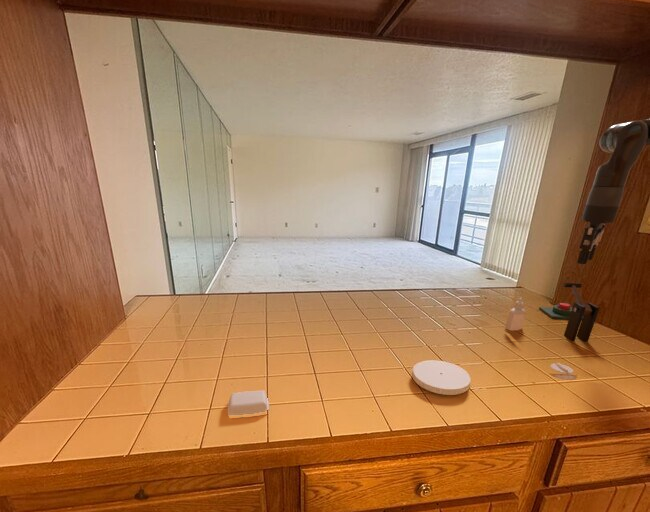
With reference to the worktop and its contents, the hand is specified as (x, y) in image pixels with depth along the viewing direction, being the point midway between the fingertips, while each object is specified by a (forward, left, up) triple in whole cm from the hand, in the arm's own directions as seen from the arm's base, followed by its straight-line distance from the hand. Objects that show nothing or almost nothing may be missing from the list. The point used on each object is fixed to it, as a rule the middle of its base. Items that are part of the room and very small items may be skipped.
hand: (584, 261), depth 103 cm
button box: (-11, -21, -26) cm, 35 cm away
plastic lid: (+45, +31, -26) cm, 60 cm away
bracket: (-4, +1, -26) cm, 26 cm away
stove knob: (+11, +22, -26) cm, 36 cm away
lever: (-4, -5, -14) cm, 15 cm away
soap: (+90, +47, -26) cm, 105 cm away
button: (-11, -21, -22) cm, 33 cm away
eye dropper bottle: (+13, -5, -26) cm, 30 cm away
